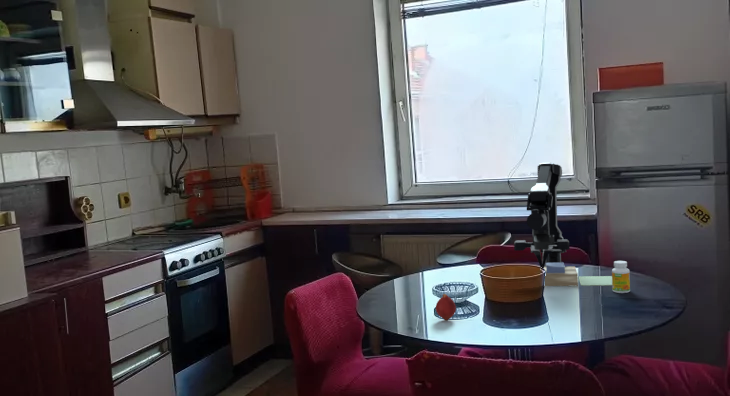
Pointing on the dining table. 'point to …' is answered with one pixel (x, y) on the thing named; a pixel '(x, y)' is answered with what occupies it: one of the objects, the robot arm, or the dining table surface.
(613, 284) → the supplement bottle
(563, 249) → the robot arm
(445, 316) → the onion
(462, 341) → the dining table surface
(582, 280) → the mat
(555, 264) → the periwinkle blue block
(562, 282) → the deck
